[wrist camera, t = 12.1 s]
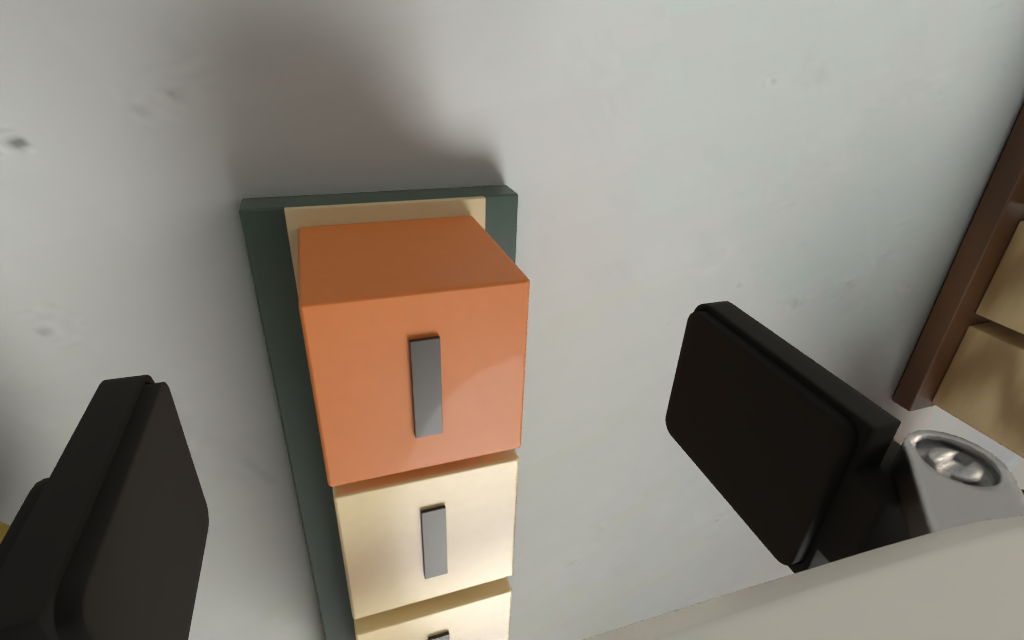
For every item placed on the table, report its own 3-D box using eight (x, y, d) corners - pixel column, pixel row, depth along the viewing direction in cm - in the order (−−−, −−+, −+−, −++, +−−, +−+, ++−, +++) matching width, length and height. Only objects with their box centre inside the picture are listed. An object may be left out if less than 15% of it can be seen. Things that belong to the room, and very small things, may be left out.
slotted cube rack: (242, 198, 14) (215, 287, 9) (507, 184, 16) (592, 252, 11) (334, 666, 23) (343, 825, 19) (493, 618, 25) (536, 750, 21)
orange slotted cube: (297, 226, 13) (298, 306, 10) (472, 214, 15) (533, 281, 11) (320, 377, 15) (328, 492, 12) (472, 354, 17) (522, 451, 13)
